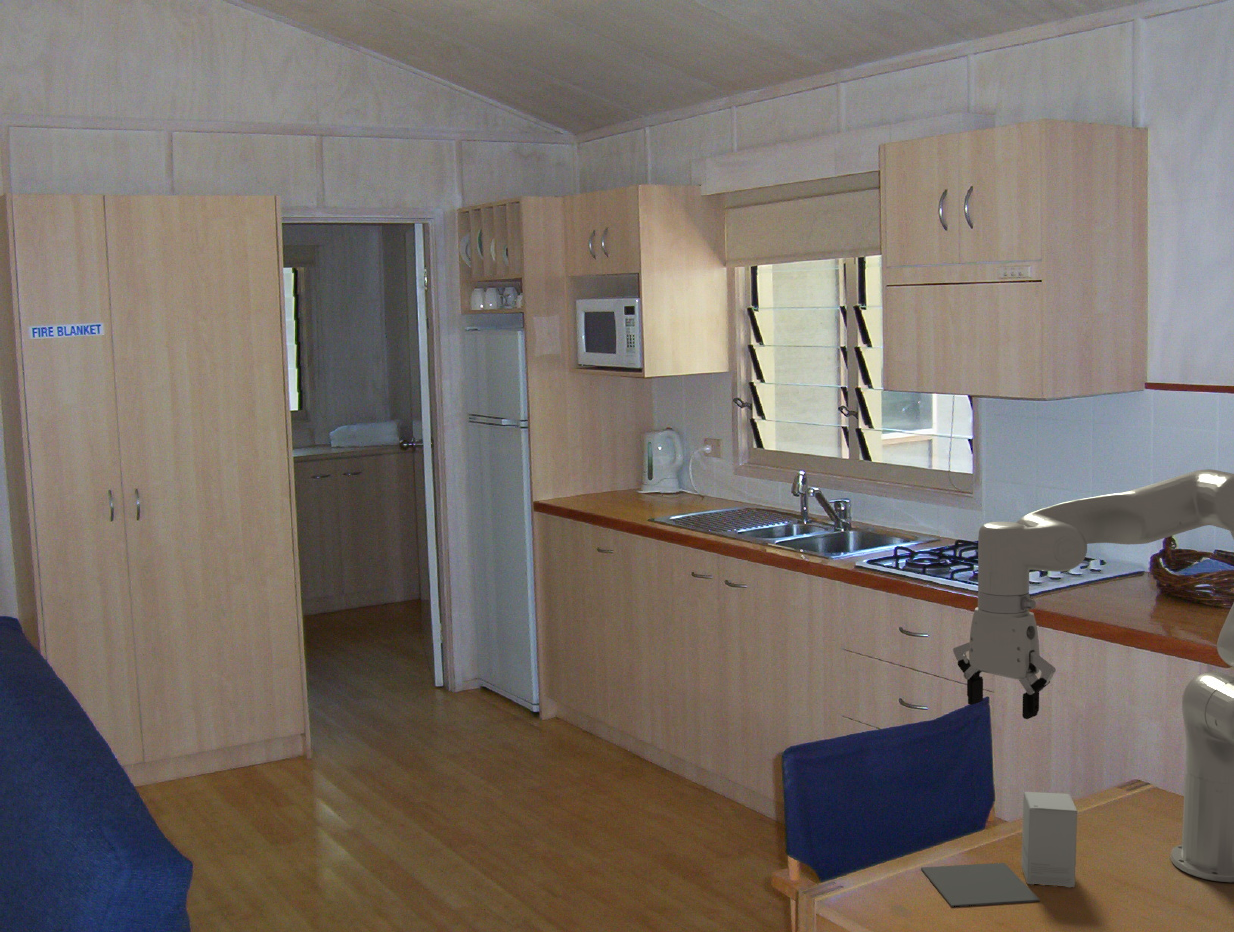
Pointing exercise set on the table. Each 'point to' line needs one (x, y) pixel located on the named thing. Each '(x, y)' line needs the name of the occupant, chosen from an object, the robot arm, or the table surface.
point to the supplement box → (1049, 839)
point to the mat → (979, 884)
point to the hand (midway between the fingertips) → (1002, 709)
